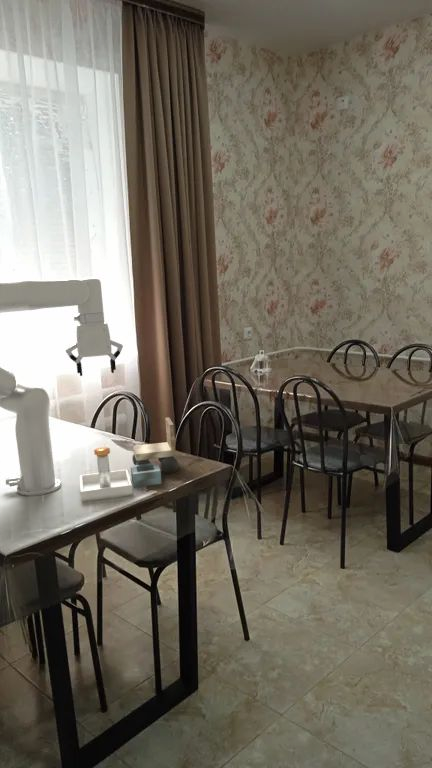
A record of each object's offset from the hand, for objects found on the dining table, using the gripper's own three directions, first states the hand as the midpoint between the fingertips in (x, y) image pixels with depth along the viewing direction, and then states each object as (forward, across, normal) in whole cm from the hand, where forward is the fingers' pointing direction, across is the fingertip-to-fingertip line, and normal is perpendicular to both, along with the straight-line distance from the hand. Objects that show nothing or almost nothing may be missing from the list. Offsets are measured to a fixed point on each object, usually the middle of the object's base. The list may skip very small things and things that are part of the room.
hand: (96, 373), depth 196 cm
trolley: (+30, +14, -12) cm, 36 cm away
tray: (+30, -1, -21) cm, 37 cm away
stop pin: (+30, -1, -21) cm, 36 cm away
